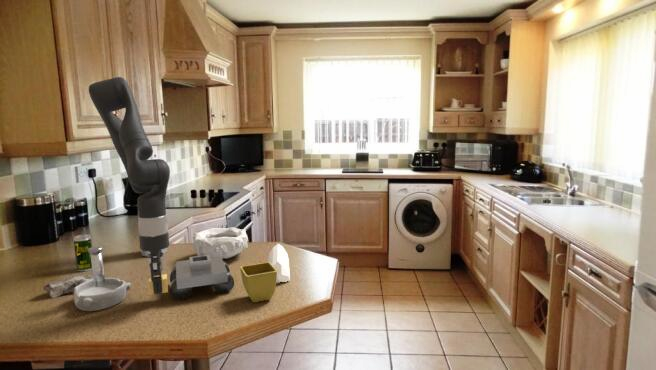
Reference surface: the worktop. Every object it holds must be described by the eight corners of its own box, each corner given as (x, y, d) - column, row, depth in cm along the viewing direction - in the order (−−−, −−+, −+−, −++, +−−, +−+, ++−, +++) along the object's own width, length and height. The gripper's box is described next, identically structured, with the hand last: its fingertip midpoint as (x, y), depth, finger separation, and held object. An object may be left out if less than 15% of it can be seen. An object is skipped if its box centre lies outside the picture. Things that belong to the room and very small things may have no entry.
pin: (94, 284, 118) (90, 247, 117) (108, 282, 119) (104, 245, 118) (91, 288, 115) (86, 250, 113) (105, 286, 116) (101, 248, 114)
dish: (91, 317, 108) (89, 299, 108) (62, 306, 115) (60, 289, 114) (139, 297, 121) (138, 280, 120) (111, 288, 128) (109, 273, 127)
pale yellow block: (149, 290, 117) (148, 276, 117) (167, 287, 119) (166, 274, 118) (148, 295, 113) (147, 281, 113) (167, 292, 115) (166, 278, 115)
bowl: (210, 248, 167) (208, 224, 165) (257, 250, 163) (256, 225, 161) (182, 265, 147) (180, 238, 145) (235, 268, 142) (233, 240, 141)
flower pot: (247, 307, 112) (246, 276, 111) (241, 295, 120) (239, 266, 119) (278, 301, 116) (277, 271, 114) (270, 290, 124) (269, 261, 122)
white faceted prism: (296, 272, 127) (293, 249, 151) (275, 262, 126) (276, 240, 150) (284, 293, 128) (283, 266, 151) (264, 283, 127) (266, 258, 150)
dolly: (170, 283, 130) (168, 254, 128) (228, 275, 136) (226, 247, 135) (170, 304, 115) (167, 271, 114) (235, 293, 121) (233, 262, 120)
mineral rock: (100, 281, 133) (99, 268, 133) (101, 289, 126) (99, 275, 126) (46, 291, 126) (44, 277, 125) (43, 300, 119) (41, 286, 118)
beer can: (77, 268, 145) (74, 235, 144) (95, 265, 148) (91, 233, 146) (75, 273, 141) (72, 239, 139) (93, 270, 143) (90, 237, 141)
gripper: (140, 227, 119) (145, 283, 121) (136, 239, 106) (142, 302, 108) (168, 224, 122) (172, 279, 124) (167, 236, 108) (172, 297, 111)
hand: (158, 290), depth 116 cm, fingers closed on pale yellow block, 4 cm apart
